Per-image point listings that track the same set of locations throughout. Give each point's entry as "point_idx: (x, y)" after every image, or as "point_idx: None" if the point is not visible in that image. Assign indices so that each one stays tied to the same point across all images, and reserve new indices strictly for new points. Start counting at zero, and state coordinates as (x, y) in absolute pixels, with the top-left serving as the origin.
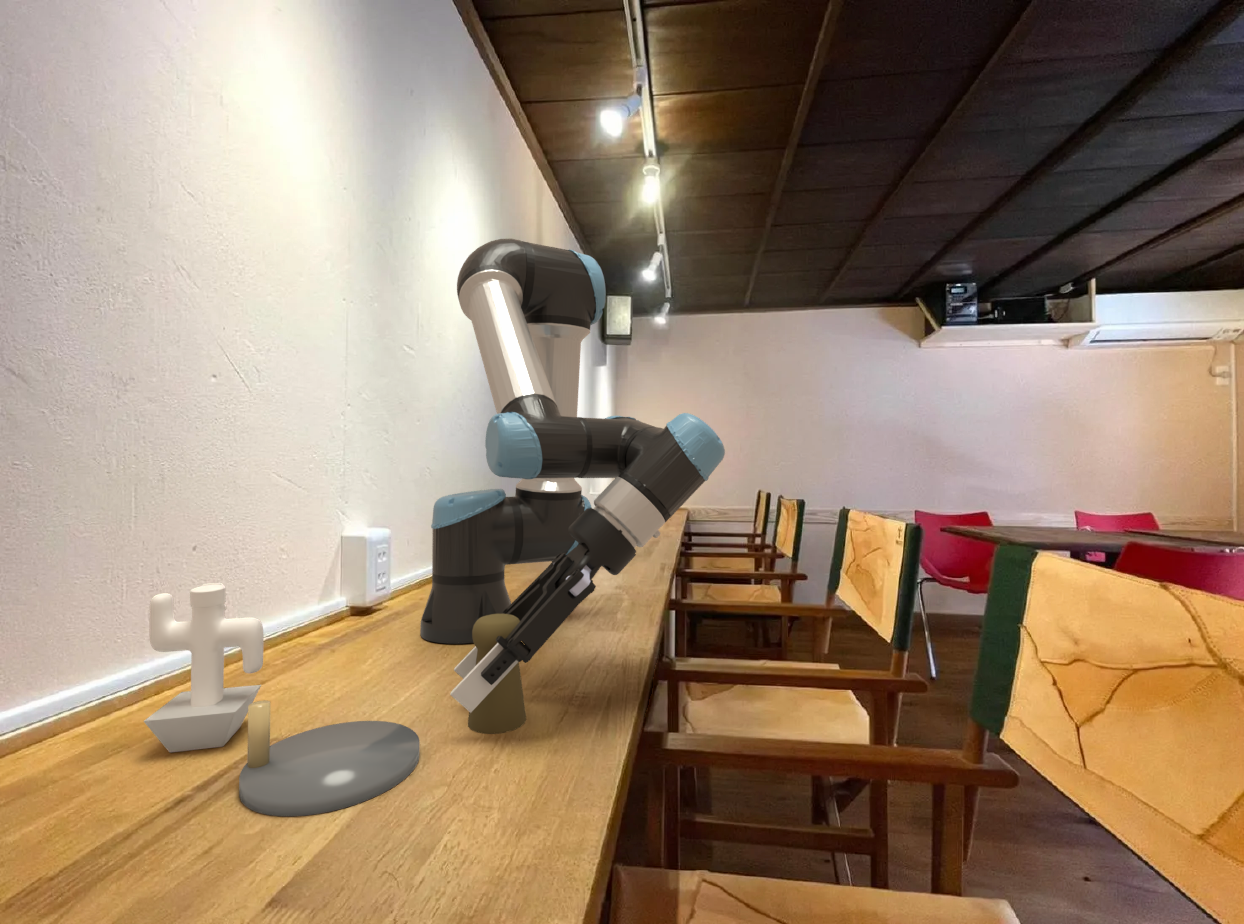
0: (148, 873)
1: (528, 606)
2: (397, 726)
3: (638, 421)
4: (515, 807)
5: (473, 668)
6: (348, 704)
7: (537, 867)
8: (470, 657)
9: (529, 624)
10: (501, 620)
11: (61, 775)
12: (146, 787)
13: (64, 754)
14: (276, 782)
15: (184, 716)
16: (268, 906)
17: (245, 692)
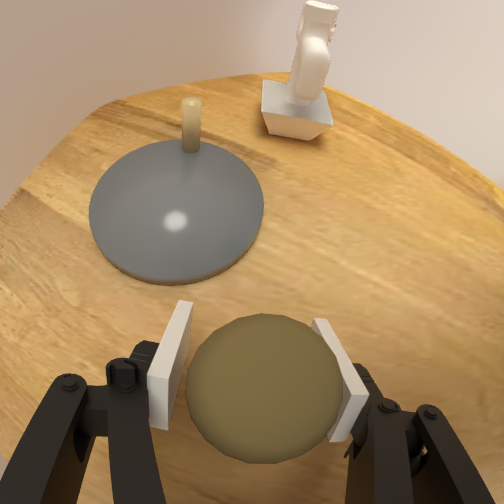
0: (94, 133)
1: (361, 492)
2: (227, 254)
3: None
4: (12, 359)
5: (181, 329)
6: (351, 215)
7: None
8: None
9: (29, 428)
10: (220, 391)
11: (254, 83)
12: (213, 110)
13: (286, 82)
14: (142, 161)
15: (263, 91)
16: (20, 189)
17: (314, 116)
